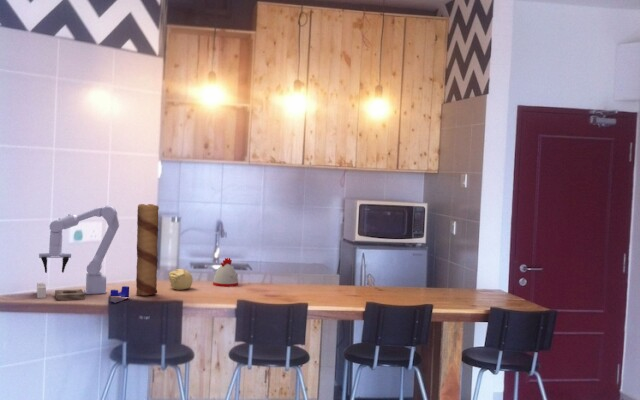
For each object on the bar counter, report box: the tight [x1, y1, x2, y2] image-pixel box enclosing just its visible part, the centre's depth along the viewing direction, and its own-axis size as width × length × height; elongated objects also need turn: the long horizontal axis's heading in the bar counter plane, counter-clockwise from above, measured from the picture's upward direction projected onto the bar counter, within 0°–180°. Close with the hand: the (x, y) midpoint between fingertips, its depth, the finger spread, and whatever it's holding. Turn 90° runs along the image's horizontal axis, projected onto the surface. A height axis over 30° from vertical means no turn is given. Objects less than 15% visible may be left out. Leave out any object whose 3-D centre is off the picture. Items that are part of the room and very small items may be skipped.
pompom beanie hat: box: [212, 257, 239, 288], centre depth 360 cm, size 14×14×15 cm
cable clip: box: [110, 285, 130, 298], centre depth 305 cm, size 12×4×6 cm, turn 169°
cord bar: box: [36, 282, 47, 299], centre depth 309 cm, size 4×14×5 cm, turn 26°
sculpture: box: [168, 268, 194, 291], centre depth 341 cm, size 12×12×11 cm
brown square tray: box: [54, 288, 86, 302], centre depth 307 cm, size 12×13×2 cm
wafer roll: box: [135, 203, 160, 297], centre depth 321 cm, size 10×11×45 cm
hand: (54, 272), depth 316 cm, fingers open, 7 cm apart
